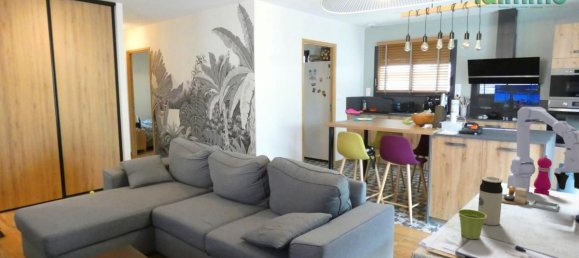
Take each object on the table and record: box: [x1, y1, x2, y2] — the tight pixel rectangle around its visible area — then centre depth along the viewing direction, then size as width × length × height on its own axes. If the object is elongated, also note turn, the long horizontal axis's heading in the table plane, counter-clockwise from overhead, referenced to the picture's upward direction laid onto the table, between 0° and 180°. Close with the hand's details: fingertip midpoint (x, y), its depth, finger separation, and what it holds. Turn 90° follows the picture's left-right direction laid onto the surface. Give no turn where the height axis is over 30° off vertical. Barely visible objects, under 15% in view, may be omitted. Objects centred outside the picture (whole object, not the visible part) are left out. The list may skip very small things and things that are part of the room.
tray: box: [530, 199, 560, 213], centre depth 160 cm, size 9×9×2 cm
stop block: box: [514, 187, 528, 204], centre depth 166 cm, size 4×4×6 cm
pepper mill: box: [533, 154, 553, 196], centre depth 182 cm, size 7×7×20 cm
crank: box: [504, 186, 515, 200], centre depth 171 cm, size 9×4×4 cm, turn 139°
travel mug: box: [477, 176, 504, 226], centre depth 145 cm, size 8×8×18 cm
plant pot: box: [457, 208, 487, 240], centre depth 133 cm, size 9×9×9 cm
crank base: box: [501, 193, 530, 207], centre depth 170 cm, size 16×16×2 cm
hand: (569, 188), depth 158 cm, fingers open, 7 cm apart
